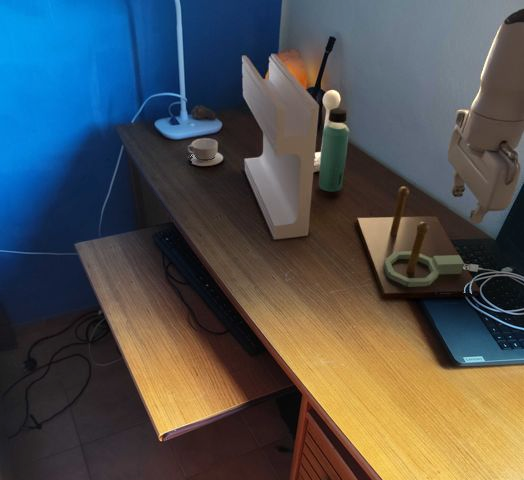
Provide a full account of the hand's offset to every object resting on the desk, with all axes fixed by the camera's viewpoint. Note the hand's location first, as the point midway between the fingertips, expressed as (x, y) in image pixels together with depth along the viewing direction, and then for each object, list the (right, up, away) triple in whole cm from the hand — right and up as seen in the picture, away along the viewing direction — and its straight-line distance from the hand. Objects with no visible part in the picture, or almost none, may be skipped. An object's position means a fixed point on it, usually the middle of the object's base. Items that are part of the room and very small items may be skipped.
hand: (465, 207), depth 85 cm
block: (-34, +12, +33) cm, 49 cm away
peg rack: (-5, -6, +16) cm, 18 cm away
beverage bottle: (-20, +15, +36) cm, 44 cm away
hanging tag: (-4, -10, +10) cm, 15 cm away
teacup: (-54, +29, +49) cm, 78 cm away
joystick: (-21, +25, +45) cm, 56 cm away
